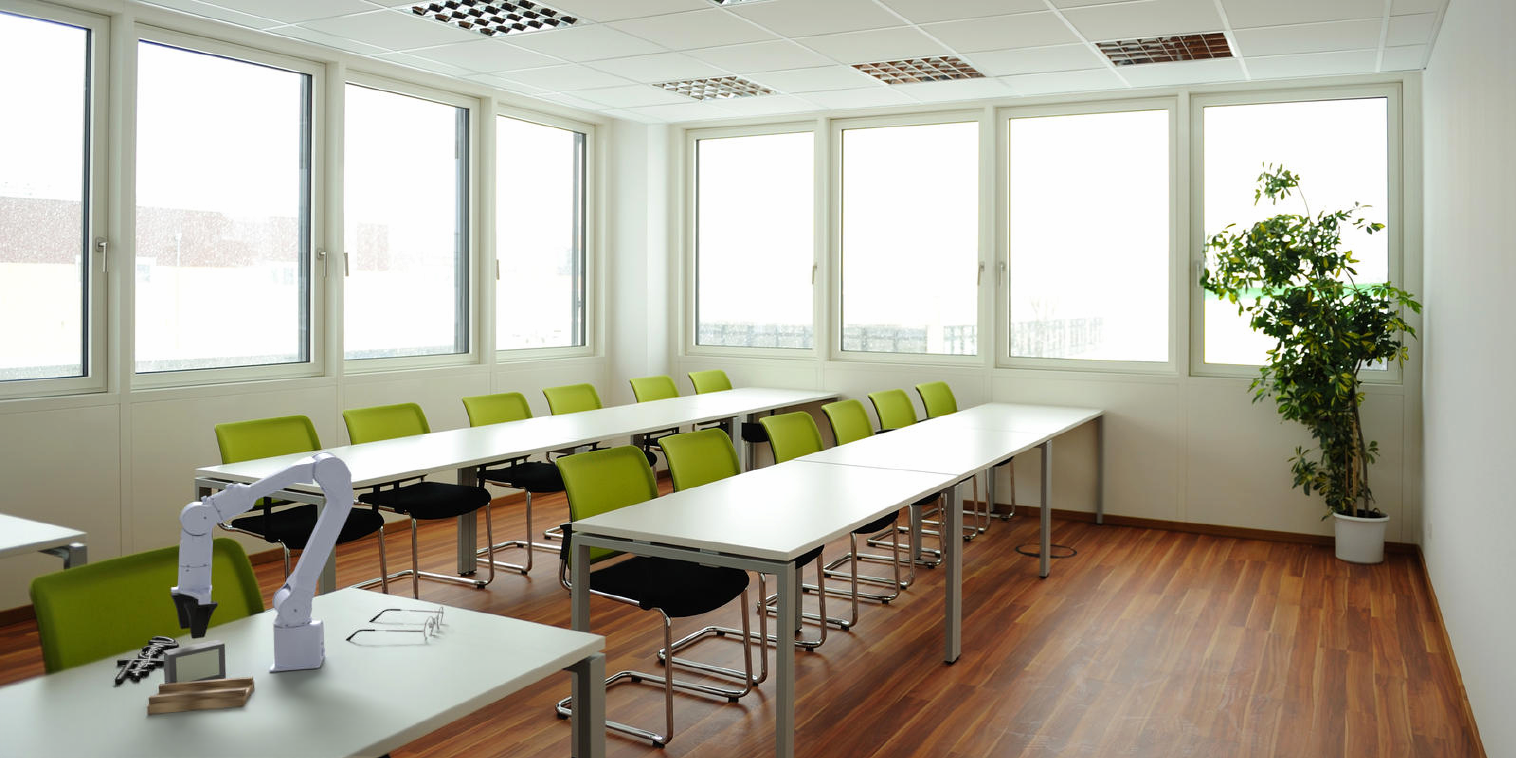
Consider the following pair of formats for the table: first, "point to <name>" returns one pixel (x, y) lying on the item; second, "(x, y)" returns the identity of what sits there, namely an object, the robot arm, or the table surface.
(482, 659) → the table surface
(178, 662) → the grey block
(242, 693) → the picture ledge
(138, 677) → the nameplate
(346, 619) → the table surface
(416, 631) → the eyeglasses
